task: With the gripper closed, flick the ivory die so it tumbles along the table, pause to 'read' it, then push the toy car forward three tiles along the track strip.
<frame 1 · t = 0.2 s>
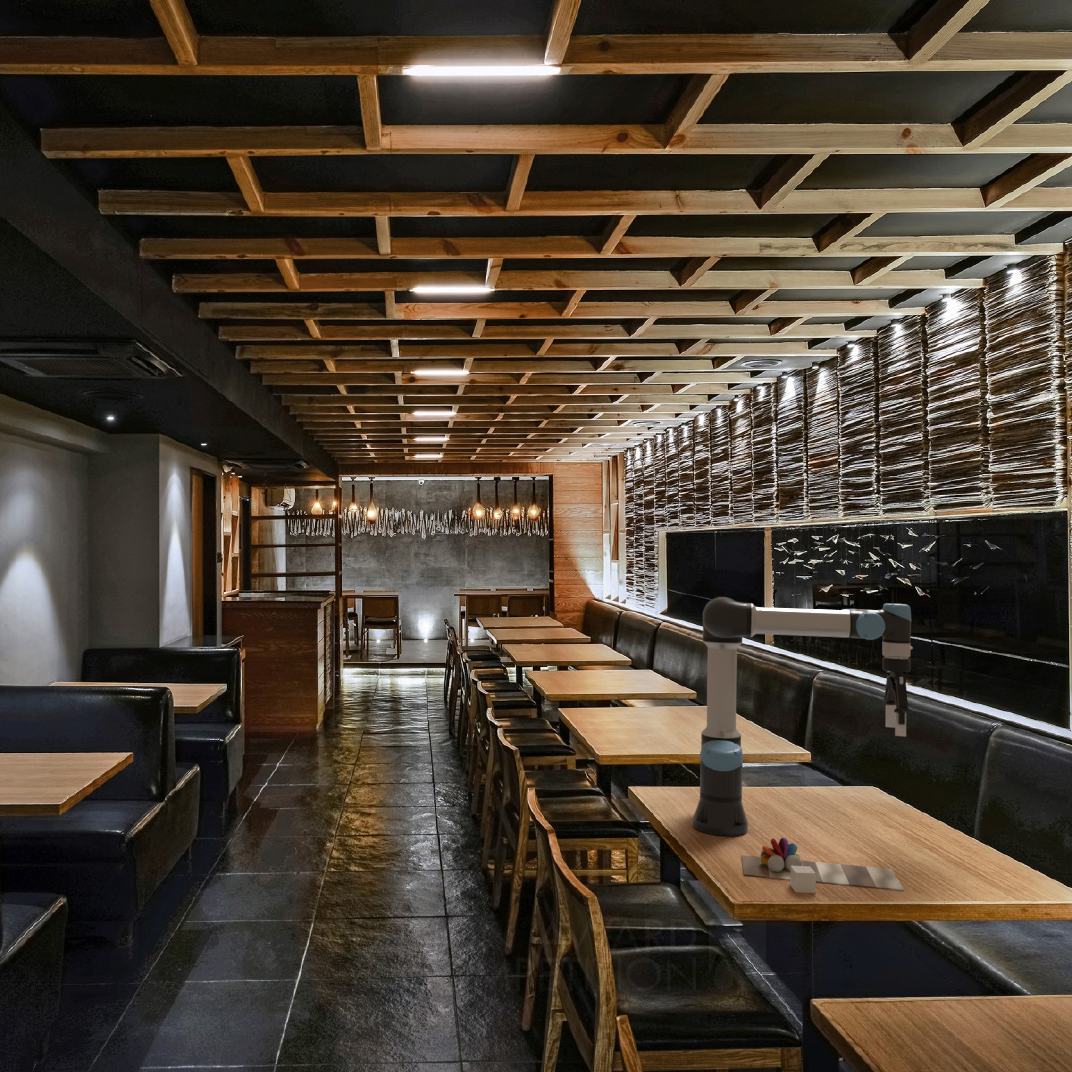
hand: (895, 731, 245), 28 cm above the table, fingers open, 13 cm apart
track: (818, 872, 207), on the table
die: (802, 889, 196), on the table
toy car: (780, 868, 209), resting on track
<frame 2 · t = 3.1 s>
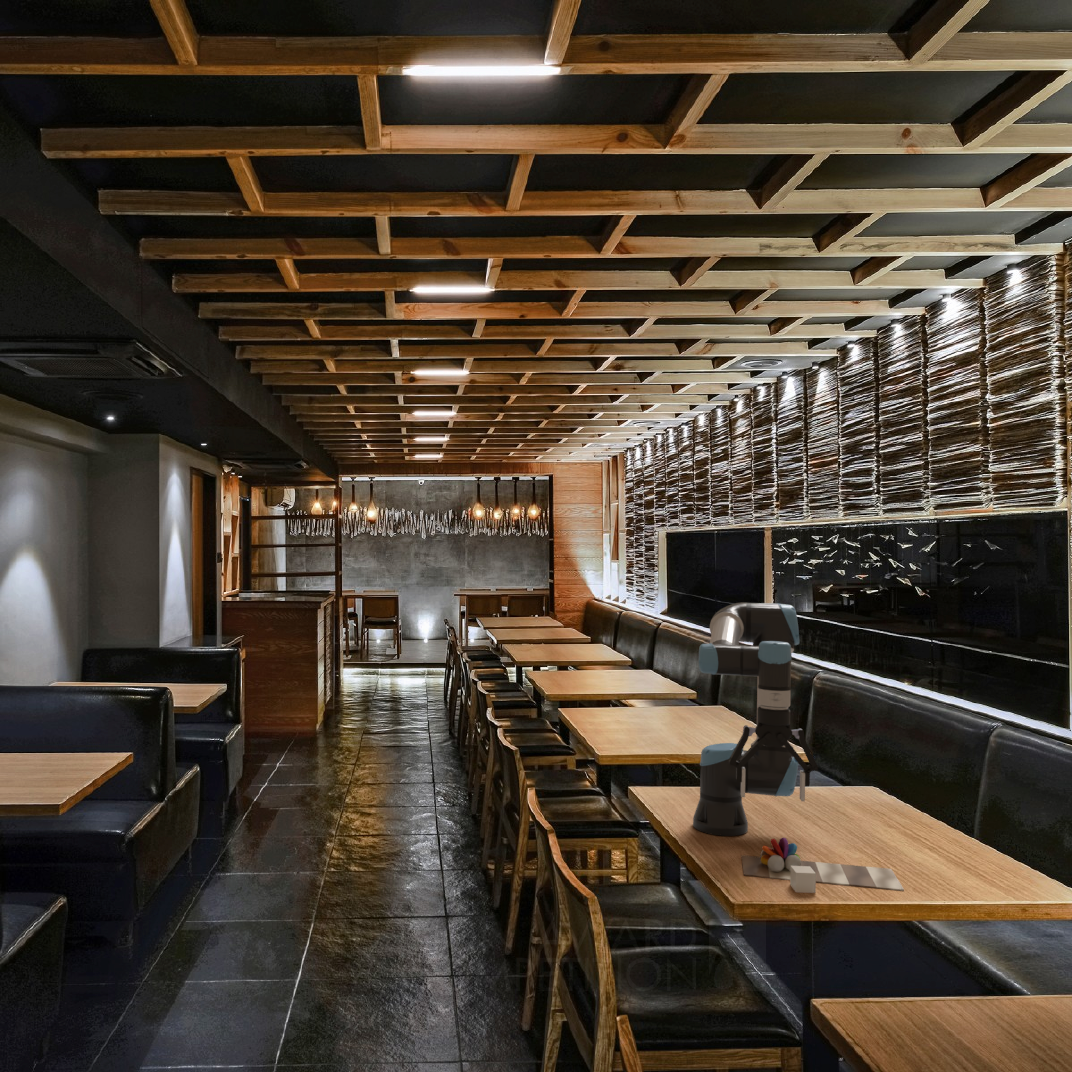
hand: (772, 798, 201), 20 cm above the table, fingers open, 13 cm apart
nothing on the table moved.
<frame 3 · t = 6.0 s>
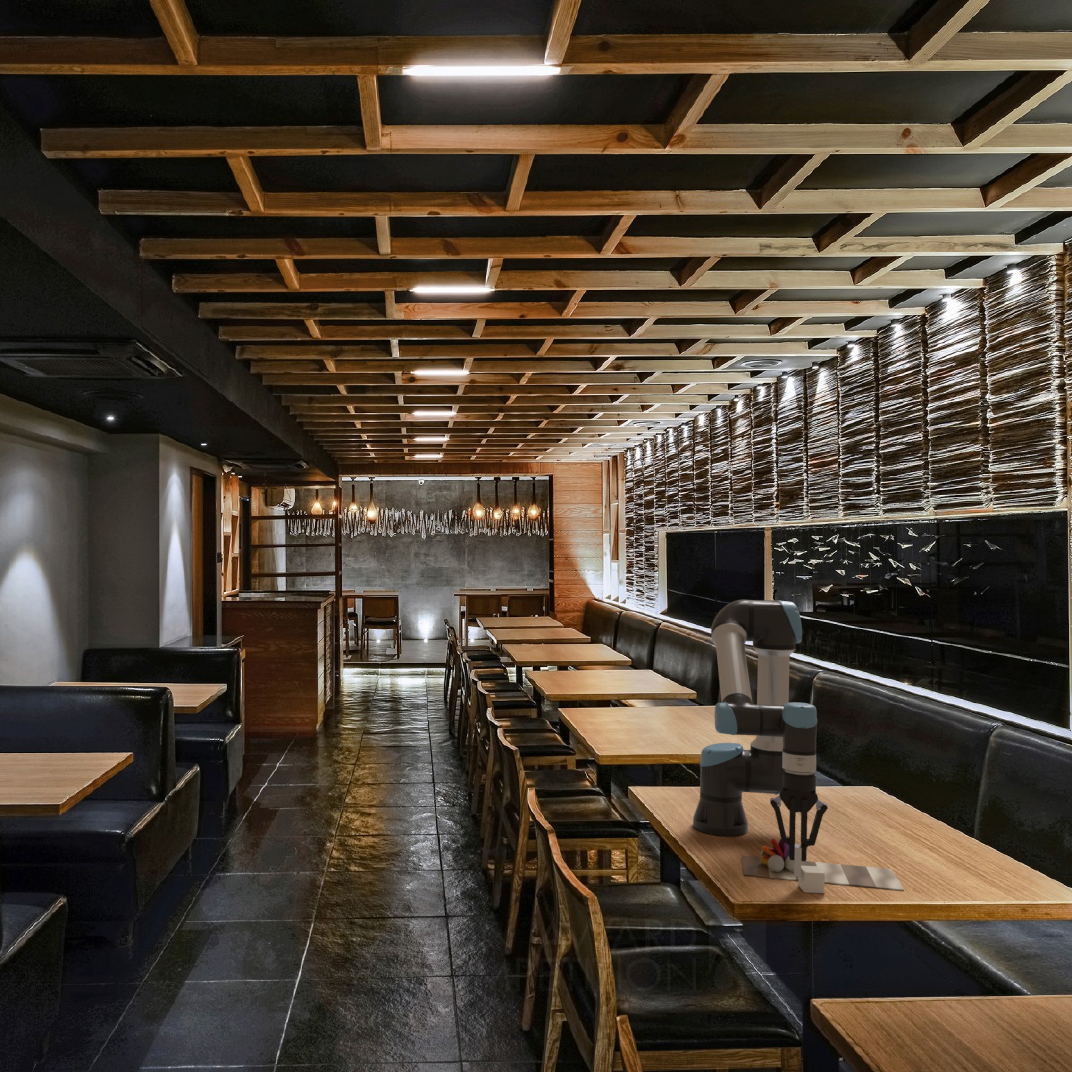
hand: (797, 874, 196), 3 cm above the table, fingers closed
die: (811, 889, 196), on the table, touching gripper
everything else where it was.
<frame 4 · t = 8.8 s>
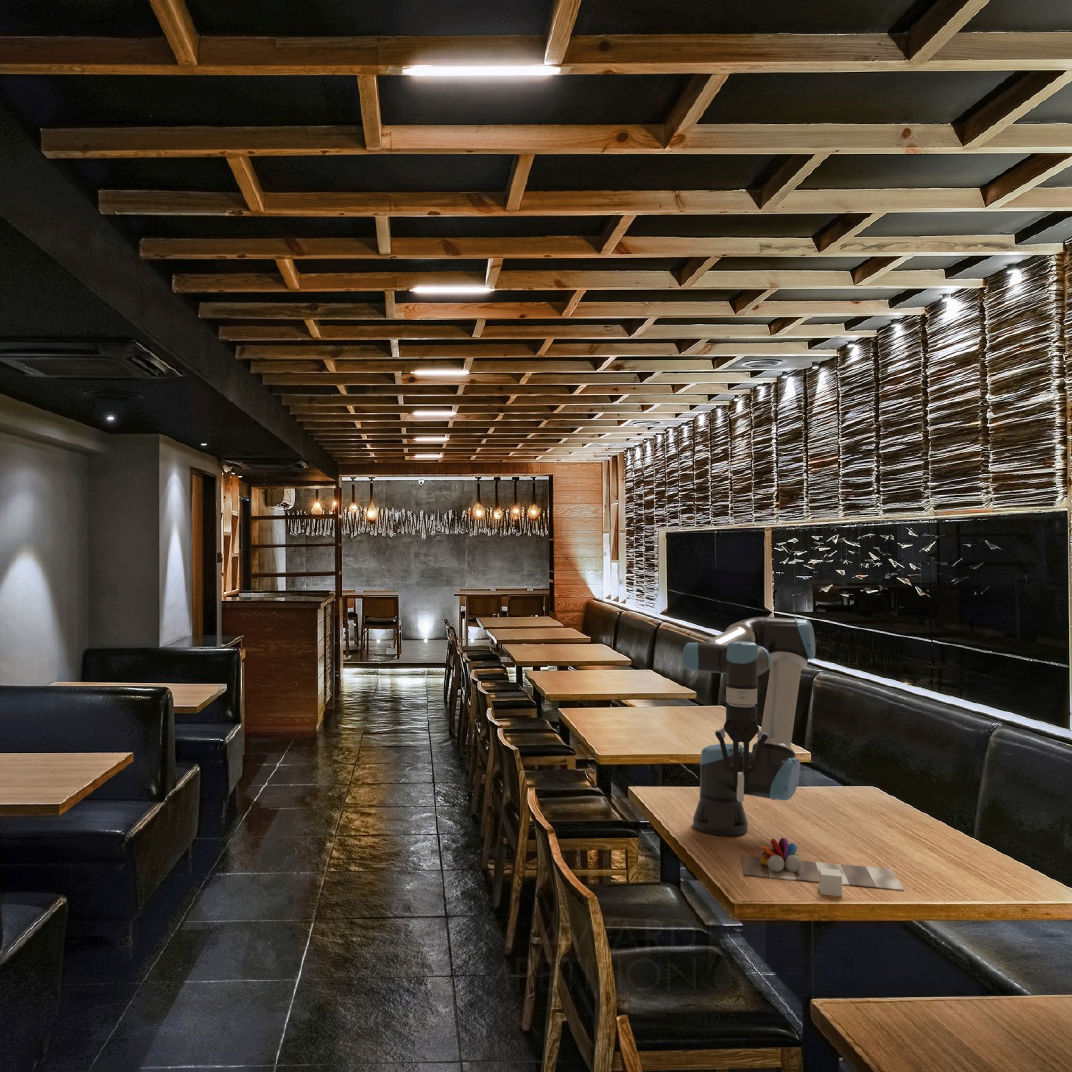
hand: (740, 799, 211), 16 cm above the table, fingers closed
die: (830, 892, 195), on the table
everything else where it was.
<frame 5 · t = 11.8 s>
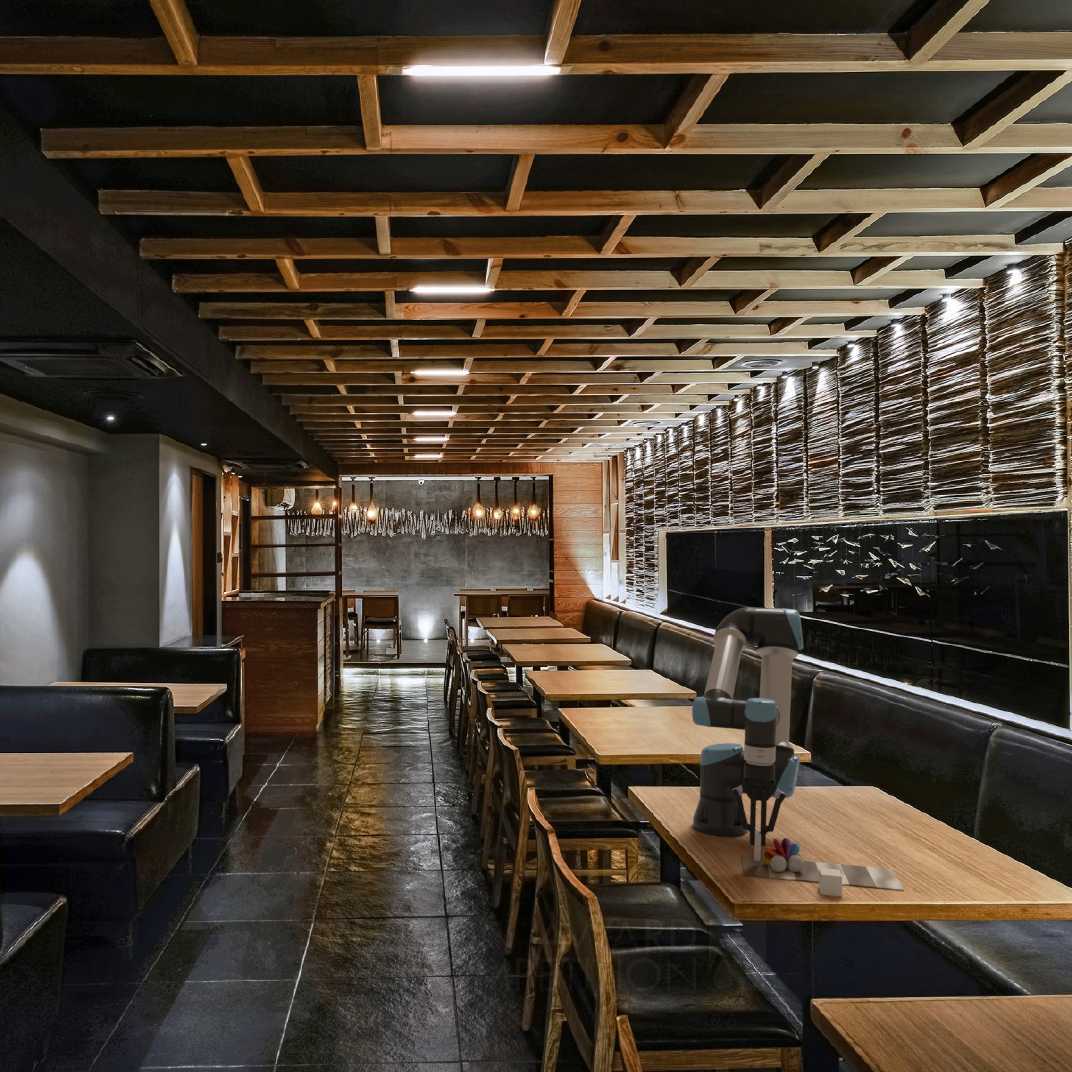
hand: (757, 858, 210), 2 cm above the table, fingers closed
toy car: (782, 868, 209), resting on track, touching gripper
everything else where it was.
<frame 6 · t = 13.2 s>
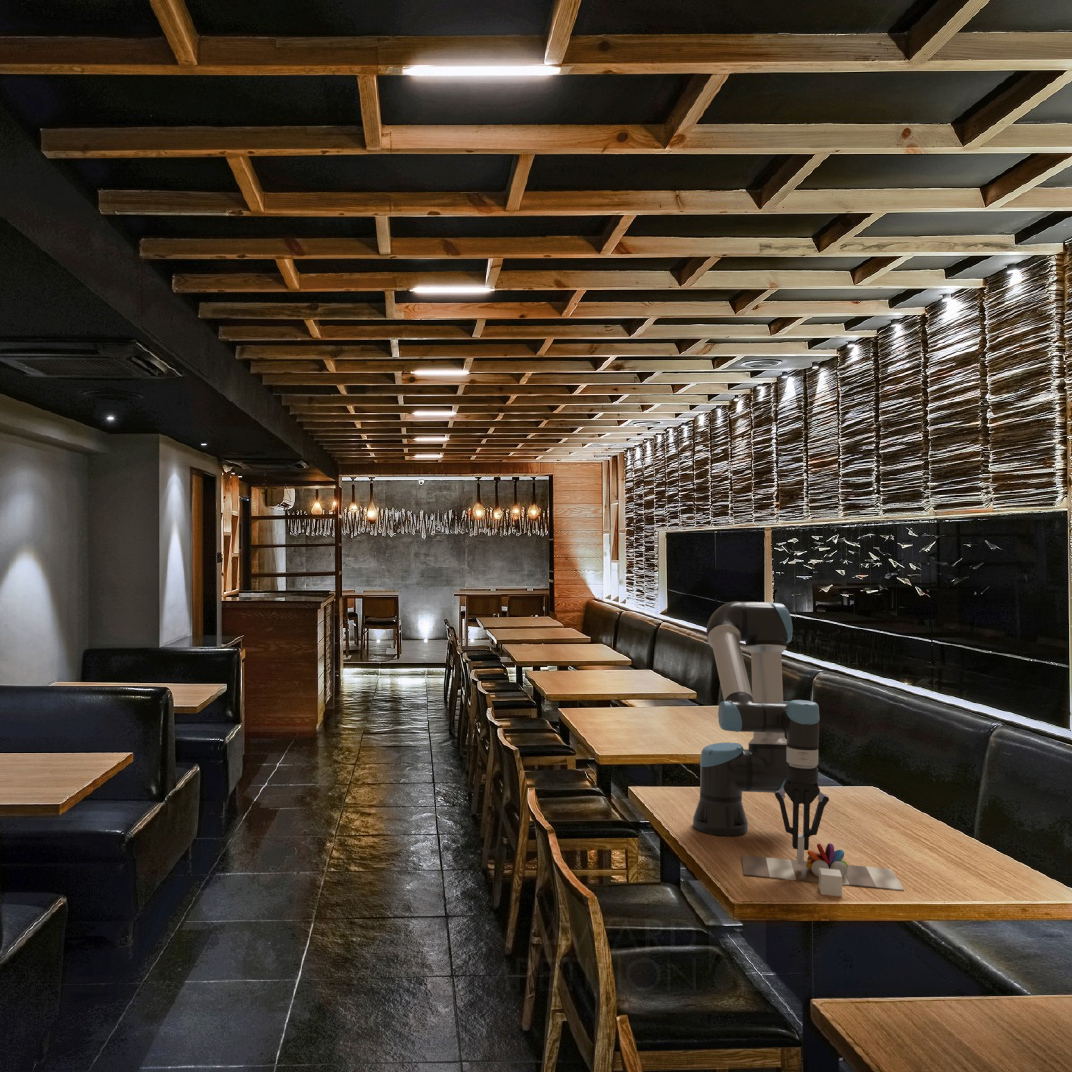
hand: (800, 862, 208), 2 cm above the table, fingers closed
toy car: (826, 874, 206), resting on track, touching gripper
everything else where it was.
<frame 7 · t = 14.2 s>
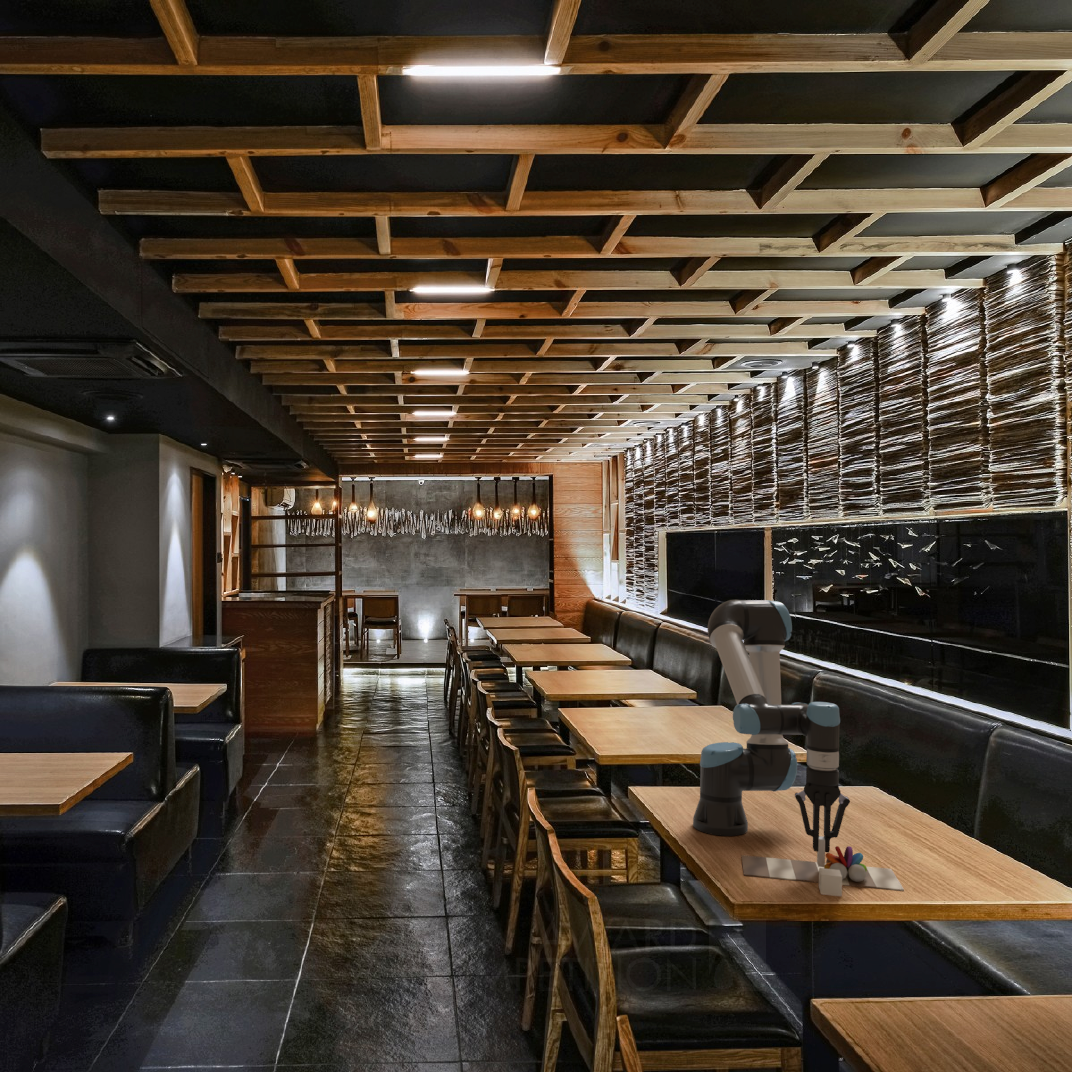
hand: (820, 864, 207), 2 cm above the table, fingers closed
toy car: (845, 877, 204), resting on track, touching gripper
everything else where it was.
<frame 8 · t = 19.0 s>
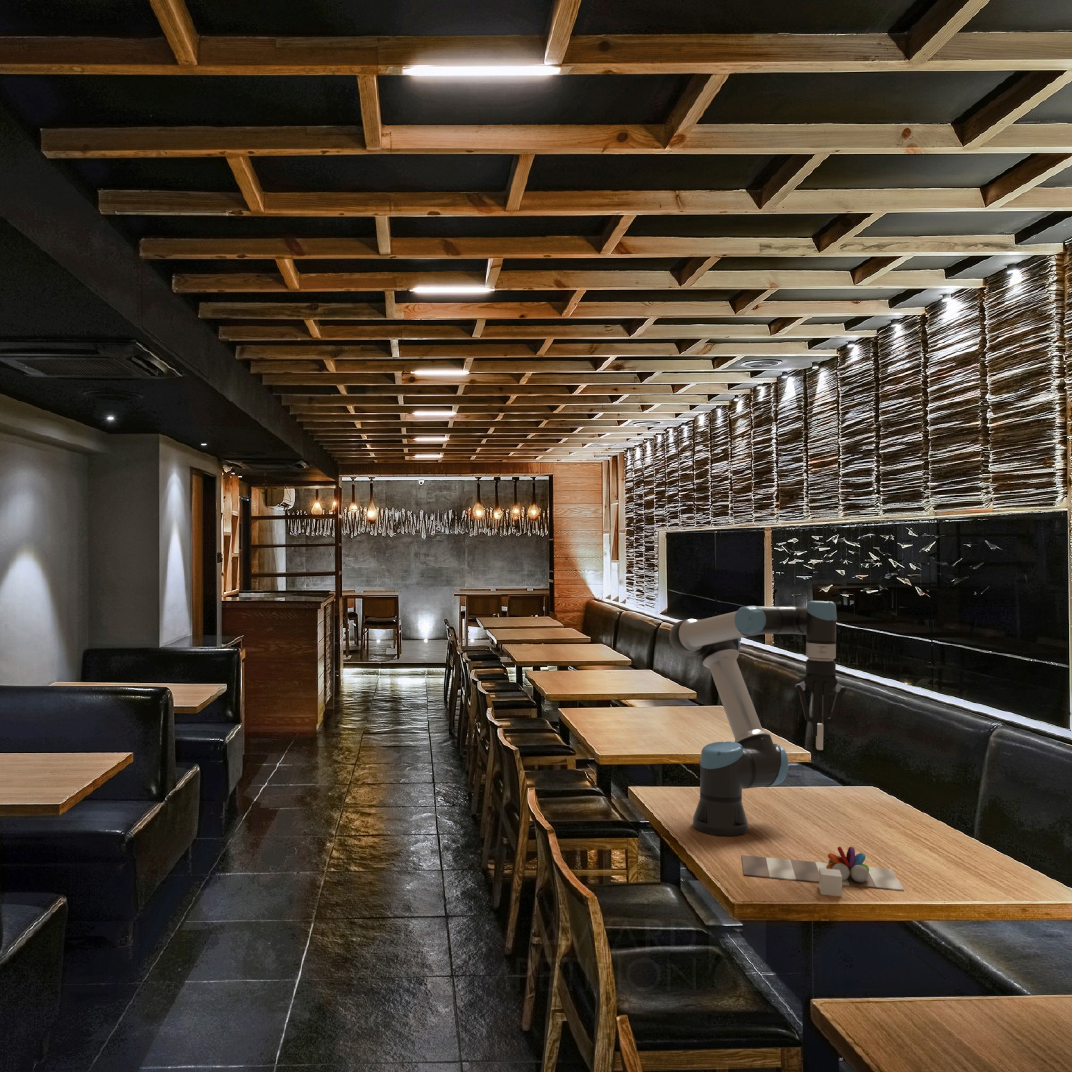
hand: (819, 748, 225), 26 cm above the table, fingers closed
toy car: (847, 878, 204), resting on track
everything else where it was.
at the end: toy car inside the target area (3.9 cm from its centre), resting on track; die moved 6.0 cm from its start; toy car tilted 0° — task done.
